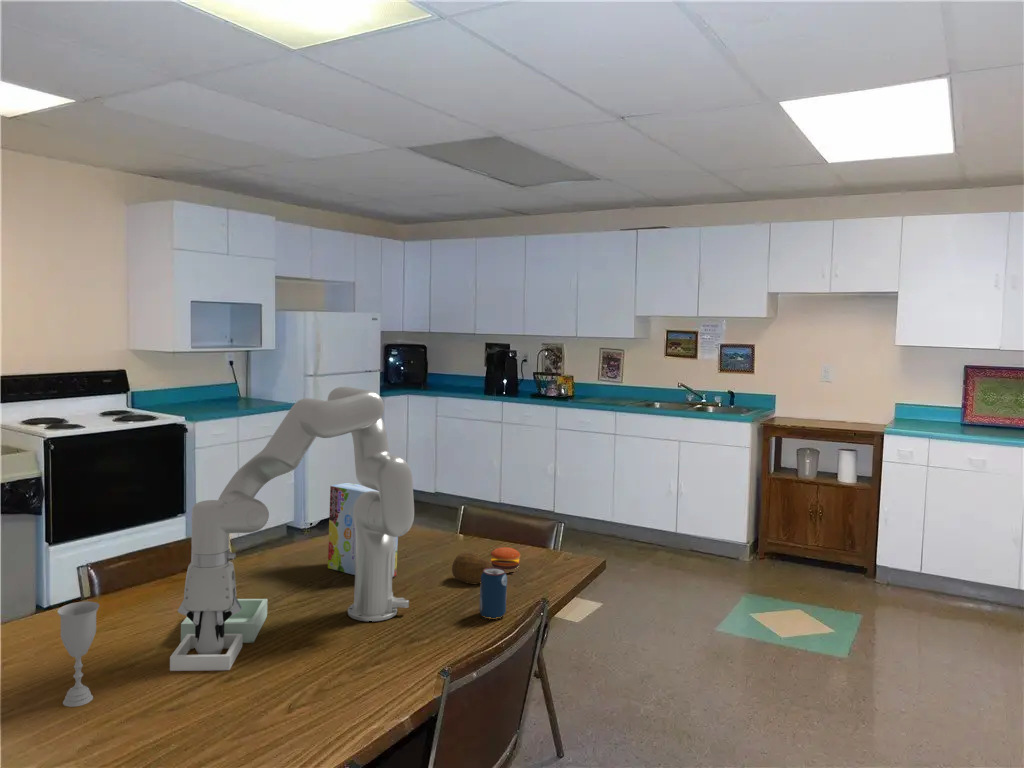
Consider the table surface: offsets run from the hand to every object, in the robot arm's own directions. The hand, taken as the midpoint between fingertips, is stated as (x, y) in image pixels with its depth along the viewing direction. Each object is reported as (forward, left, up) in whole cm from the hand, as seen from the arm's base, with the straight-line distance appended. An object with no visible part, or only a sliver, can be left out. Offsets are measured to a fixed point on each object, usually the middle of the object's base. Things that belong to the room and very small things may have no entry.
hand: (209, 639), depth 163 cm
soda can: (-65, -24, -4) cm, 69 cm away
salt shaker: (0, 0, -4) cm, 4 cm away
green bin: (0, -16, -4) cm, 16 cm away
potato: (-61, -50, -4) cm, 79 cm away
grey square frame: (0, 0, -4) cm, 4 cm away
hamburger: (-73, -63, -4) cm, 96 cm away
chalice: (+19, +18, -4) cm, 27 cm away
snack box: (-29, -59, -4) cm, 65 cm away
